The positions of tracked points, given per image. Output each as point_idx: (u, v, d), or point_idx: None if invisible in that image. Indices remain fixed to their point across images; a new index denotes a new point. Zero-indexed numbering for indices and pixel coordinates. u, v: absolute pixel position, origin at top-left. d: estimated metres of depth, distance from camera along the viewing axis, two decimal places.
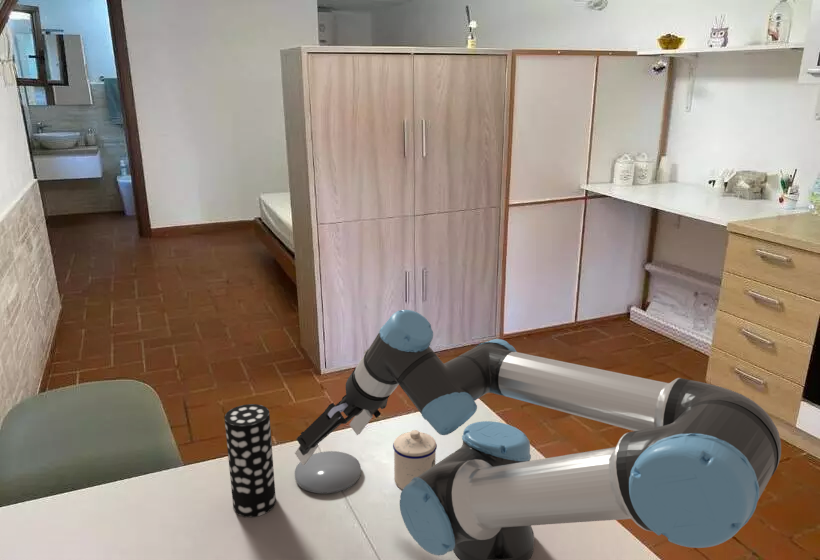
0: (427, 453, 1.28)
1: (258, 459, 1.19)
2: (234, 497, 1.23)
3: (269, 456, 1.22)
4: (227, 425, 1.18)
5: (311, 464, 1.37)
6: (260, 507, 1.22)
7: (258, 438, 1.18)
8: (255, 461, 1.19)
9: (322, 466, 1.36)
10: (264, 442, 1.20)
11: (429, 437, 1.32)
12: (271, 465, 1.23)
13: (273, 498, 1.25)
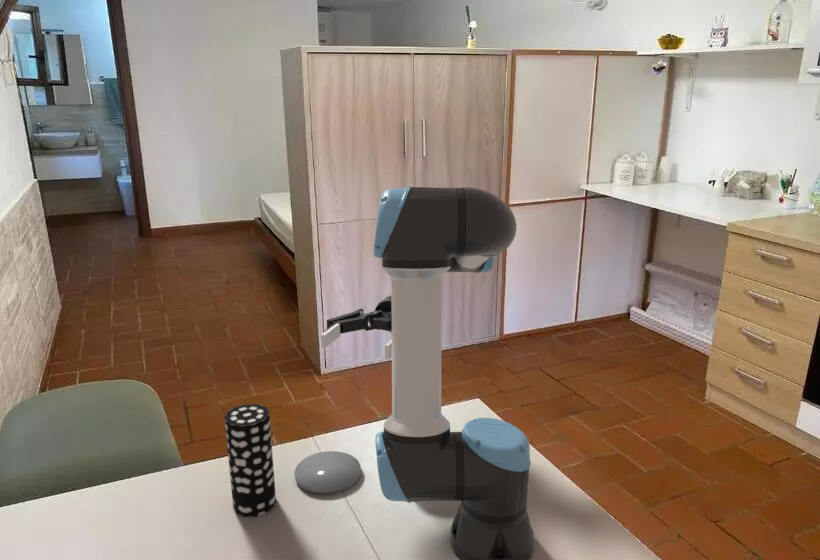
0: None
1: (258, 459, 1.19)
2: (234, 497, 1.23)
3: (269, 456, 1.22)
4: (227, 425, 1.18)
5: (311, 464, 1.37)
6: (260, 507, 1.22)
7: (258, 438, 1.18)
8: (255, 461, 1.19)
9: (322, 466, 1.36)
10: (264, 442, 1.20)
11: None
12: (271, 465, 1.23)
13: (273, 498, 1.25)
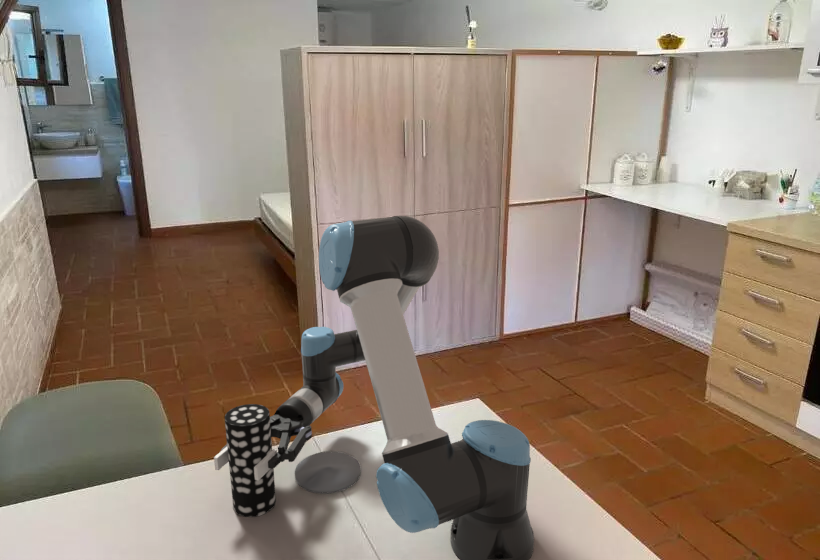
0: None
1: (258, 459, 1.19)
2: (234, 497, 1.23)
3: None
4: (227, 425, 1.18)
5: (311, 464, 1.37)
6: (260, 507, 1.22)
7: (258, 438, 1.18)
8: (255, 461, 1.19)
9: (322, 466, 1.36)
10: (264, 441, 1.20)
11: None
12: None
13: (273, 498, 1.25)
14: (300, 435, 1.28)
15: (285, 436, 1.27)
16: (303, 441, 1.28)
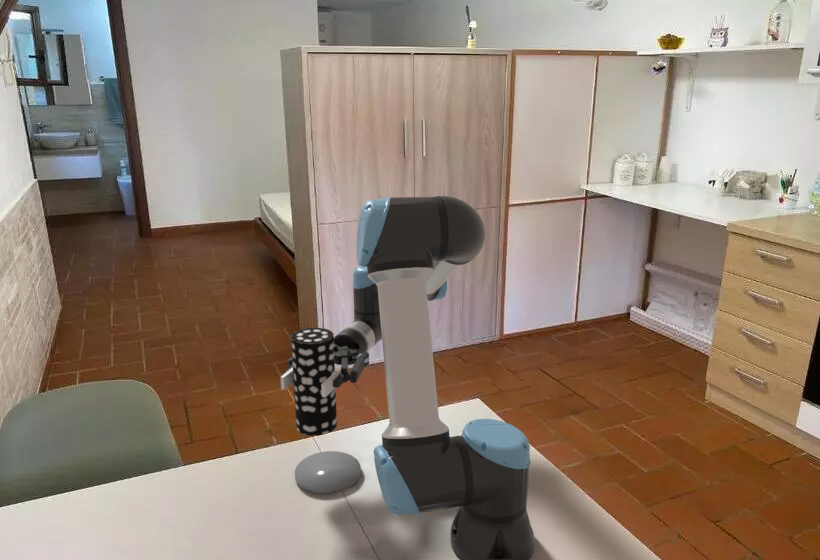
0: None
1: (323, 378, 1.23)
2: (299, 417, 1.26)
3: None
4: (294, 344, 1.22)
5: (311, 464, 1.37)
6: (324, 426, 1.26)
7: (324, 357, 1.22)
8: (321, 380, 1.23)
9: (322, 466, 1.36)
10: (329, 361, 1.23)
11: None
12: None
13: (335, 419, 1.29)
14: (360, 359, 1.32)
15: (345, 360, 1.31)
16: (362, 366, 1.32)
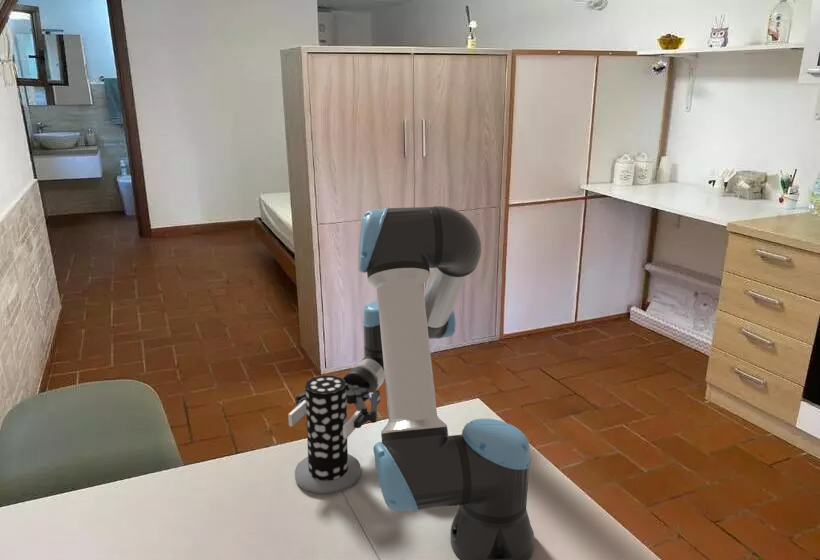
0: None
1: (336, 426, 1.28)
2: (311, 462, 1.31)
3: None
4: (309, 393, 1.26)
5: None
6: (336, 471, 1.31)
7: (337, 405, 1.27)
8: (334, 427, 1.28)
9: None
10: (342, 409, 1.28)
11: None
12: None
13: (346, 464, 1.34)
14: (374, 399, 1.36)
15: (361, 400, 1.36)
16: None
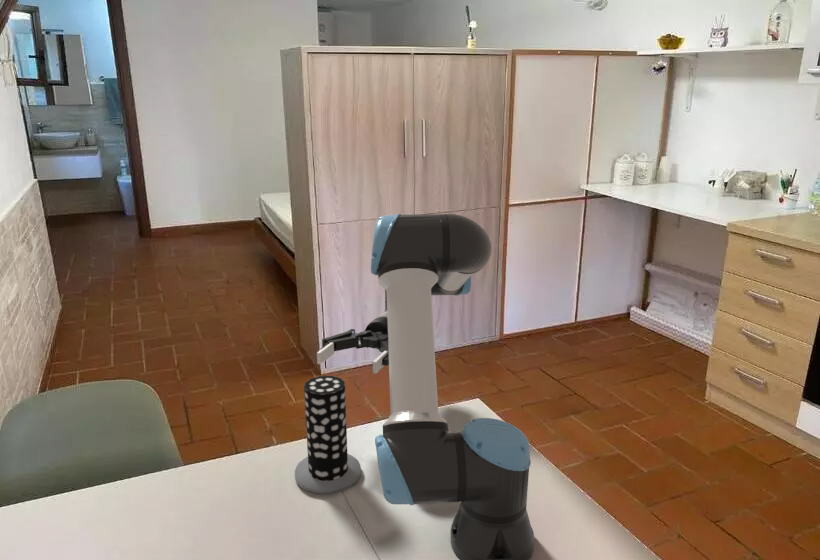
0: None
1: (335, 426, 1.28)
2: (311, 462, 1.31)
3: (345, 424, 1.30)
4: (307, 394, 1.26)
5: None
6: (336, 471, 1.31)
7: (336, 406, 1.27)
8: (333, 428, 1.28)
9: None
10: (341, 410, 1.28)
11: None
12: (345, 432, 1.32)
13: (346, 464, 1.34)
14: None
15: (386, 343, 1.46)
16: None
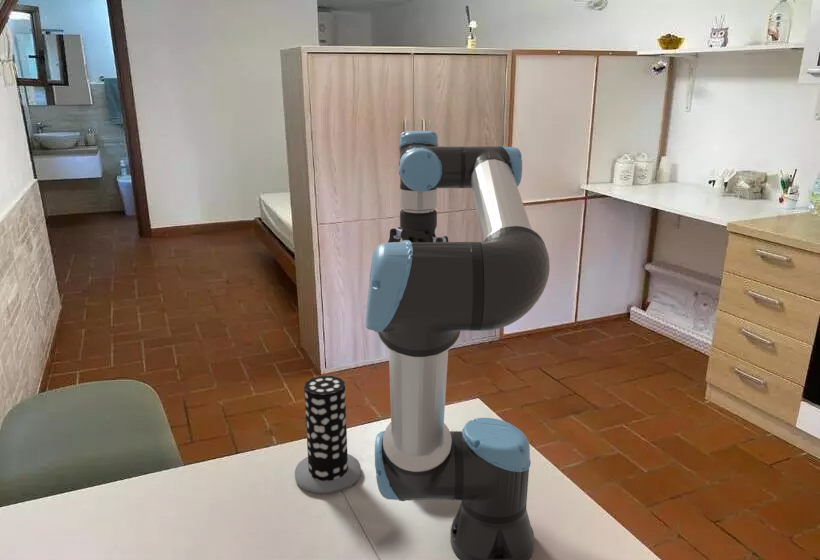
0: None
1: (335, 426, 1.28)
2: (311, 462, 1.31)
3: (345, 424, 1.30)
4: (307, 394, 1.26)
5: None
6: (336, 471, 1.31)
7: (336, 406, 1.27)
8: (333, 428, 1.28)
9: None
10: (341, 410, 1.28)
11: None
12: (345, 432, 1.32)
13: (346, 464, 1.34)
14: None
15: None
16: None
